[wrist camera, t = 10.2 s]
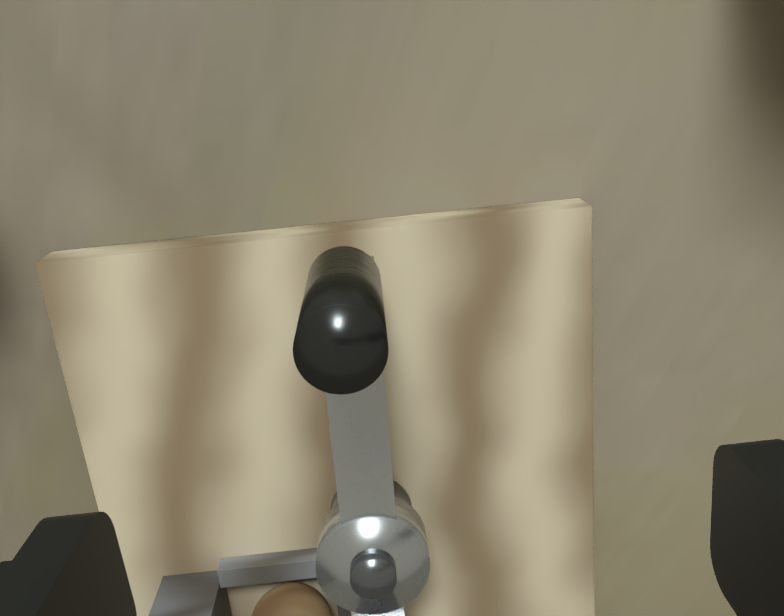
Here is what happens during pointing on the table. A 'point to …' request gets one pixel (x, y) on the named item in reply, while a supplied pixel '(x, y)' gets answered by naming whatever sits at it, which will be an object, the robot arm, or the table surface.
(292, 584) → the walnut
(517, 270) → the base
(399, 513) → the lever
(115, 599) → the robot arm
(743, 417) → the table surface
